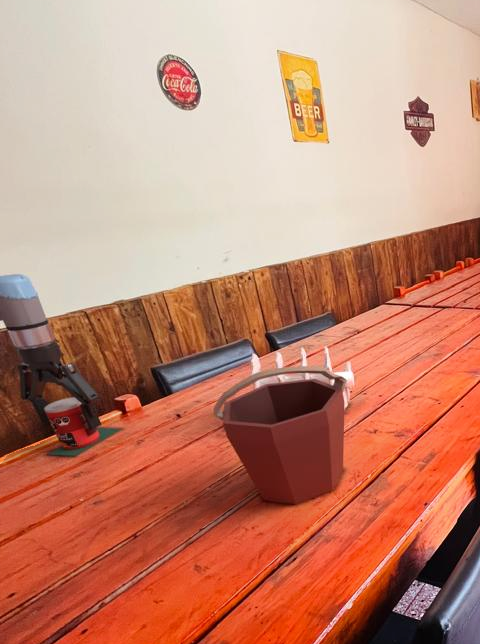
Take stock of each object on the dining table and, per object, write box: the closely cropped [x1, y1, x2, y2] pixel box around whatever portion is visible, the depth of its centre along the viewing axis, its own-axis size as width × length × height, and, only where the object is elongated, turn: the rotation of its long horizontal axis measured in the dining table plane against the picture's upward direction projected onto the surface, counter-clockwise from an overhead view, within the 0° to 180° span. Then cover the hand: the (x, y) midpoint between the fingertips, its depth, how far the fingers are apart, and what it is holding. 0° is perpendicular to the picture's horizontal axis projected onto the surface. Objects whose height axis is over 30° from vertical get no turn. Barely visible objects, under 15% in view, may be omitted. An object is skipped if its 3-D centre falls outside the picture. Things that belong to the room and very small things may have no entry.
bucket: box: [212, 365, 347, 505], centre depth 102 cm, size 24×22×25 cm
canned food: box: [44, 396, 99, 450], centre depth 127 cm, size 8×8×11 cm
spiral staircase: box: [250, 345, 355, 412], centre depth 135 cm, size 18×18×25 cm
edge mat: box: [47, 427, 122, 457], centre depth 130 cm, size 8×14×1 cm, turn 169°
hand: (72, 425), depth 127 cm, fingers open, 13 cm apart
